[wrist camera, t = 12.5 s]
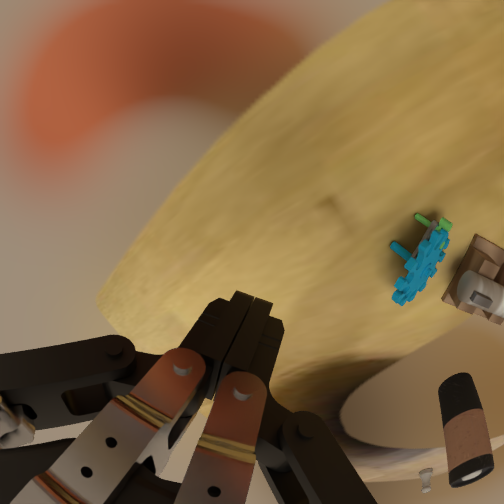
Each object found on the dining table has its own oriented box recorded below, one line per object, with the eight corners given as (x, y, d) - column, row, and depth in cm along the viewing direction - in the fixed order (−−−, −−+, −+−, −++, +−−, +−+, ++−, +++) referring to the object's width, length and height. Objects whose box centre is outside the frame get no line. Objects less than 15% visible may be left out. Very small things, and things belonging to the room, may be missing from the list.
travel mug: (479, 371, 34) (504, 462, 16) (459, 397, 37) (473, 484, 20) (449, 370, 35) (470, 470, 18) (429, 397, 39) (439, 490, 21)
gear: (416, 308, 31) (388, 312, 25) (386, 281, 35) (350, 276, 29) (462, 236, 27) (449, 216, 21) (428, 212, 31) (403, 187, 25)
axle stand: (433, 295, 31) (450, 333, 24) (467, 229, 27) (496, 257, 20) (486, 315, 30) (505, 350, 23) (518, 258, 25) (546, 287, 18)
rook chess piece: (431, 471, 51) (432, 491, 44) (418, 474, 52) (418, 495, 45) (433, 466, 49) (434, 488, 42) (419, 470, 51) (420, 491, 44)
